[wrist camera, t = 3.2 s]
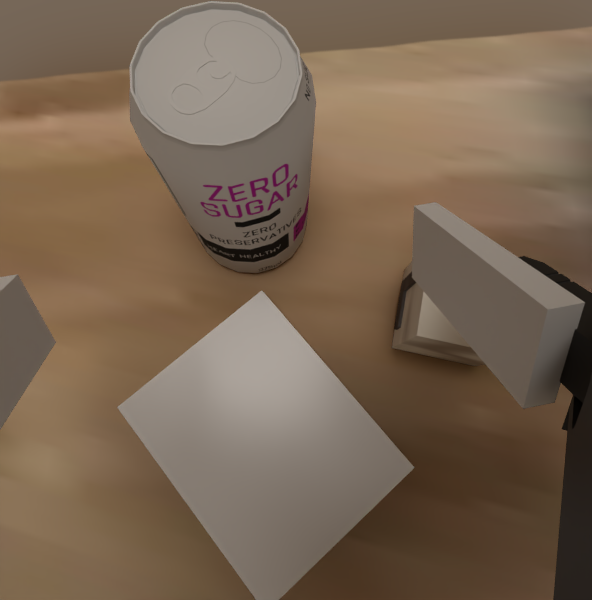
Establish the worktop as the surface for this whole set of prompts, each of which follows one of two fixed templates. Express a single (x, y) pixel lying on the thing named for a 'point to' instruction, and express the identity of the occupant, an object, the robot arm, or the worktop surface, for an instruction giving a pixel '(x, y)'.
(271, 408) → the grey board
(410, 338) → the letter block
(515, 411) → the worktop surface
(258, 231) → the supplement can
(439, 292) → the robot arm
